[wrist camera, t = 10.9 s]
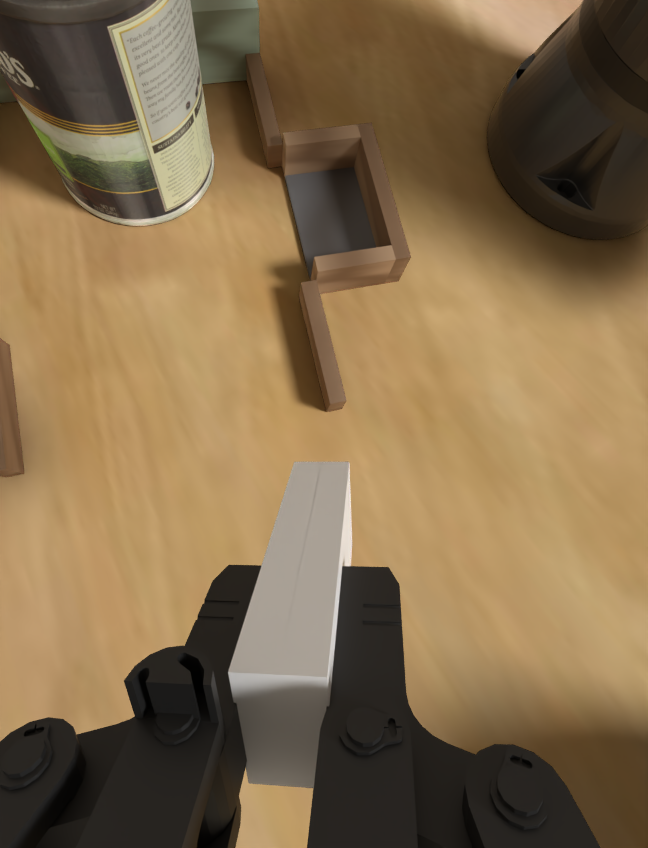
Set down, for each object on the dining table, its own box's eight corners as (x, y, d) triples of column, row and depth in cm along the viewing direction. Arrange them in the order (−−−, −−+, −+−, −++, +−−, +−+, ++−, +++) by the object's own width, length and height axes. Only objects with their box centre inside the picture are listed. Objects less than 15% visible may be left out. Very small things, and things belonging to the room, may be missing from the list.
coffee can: (95, 250, 31) (-39, 33, 18) (36, 124, 33) (-130, -166, 19) (241, 197, 33) (222, -35, 20) (179, 80, 35) (121, -210, 21)
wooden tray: (335, 60, 37) (346, -11, 32) (429, 391, 32) (458, 365, 27) (-135, 102, 32) (-208, 25, 27) (-111, 500, 27) (-194, 494, 22)
